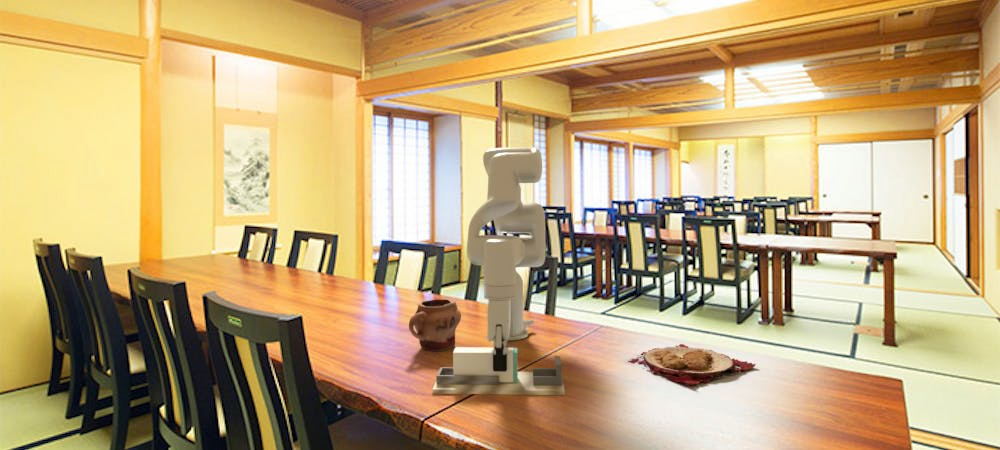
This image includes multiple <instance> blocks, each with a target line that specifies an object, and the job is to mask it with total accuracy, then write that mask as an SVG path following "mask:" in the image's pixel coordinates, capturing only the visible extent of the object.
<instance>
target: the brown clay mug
mask: <svg viewBox="0 0 1000 450" xmlns="http://www.w3.org/2000/svg"><path fill="white" fill-rule="evenodd" d="M461 319H462V314H461V312H460V310H459V308H458V305H457V303H456V301H454V300H453V299H449V298H447V299H446V298H445V299H443V298H442V299H441V298H438V299H436V298H434V299H431V300H425V301H421V302H419V303H418V305H417V309H416V311H415V313H414V314H413V315H412V316H411V318H410V319H409V322H408V330H409V332H410V334H411V335H412V336H413V337H415V339H418V342H419V344H420V345H419V346H420V347H421V349H423V350H426V351H430V352H431V351H432V352H440V351H445V350H448V349H451V348H452V347H455V346H456V330H457V327H458V325H459V324H460V322H461ZM414 328H415V329H416V331H415V330H414Z"/></svg>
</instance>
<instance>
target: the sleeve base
mask: <svg viewBox="0 0 1000 450" xmlns="http://www.w3.org/2000/svg"><path fill="white" fill-rule="evenodd" d="M565 392H566V391H565V385H564V380H563V378H562V386H538V385H533V371H518V378H517V382H499V376H479V375H453V366H450V367H449V366H445V367H444V366H442V367H441V366H440V367H439V370H438V372H437V374H436V381H435V383H434V385H433V388H432V394H435V395H436V394H437V395H438V394H439V395H442V394H444V395H445V394H446V395H448V394H449V395H509V396H510V395H514V396H515V395H517V396H518V395H521V396H522V395H523V396H524V395H525V396H530V395H531V396H533V395H534V396H565V395H566V393H565Z"/></svg>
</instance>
